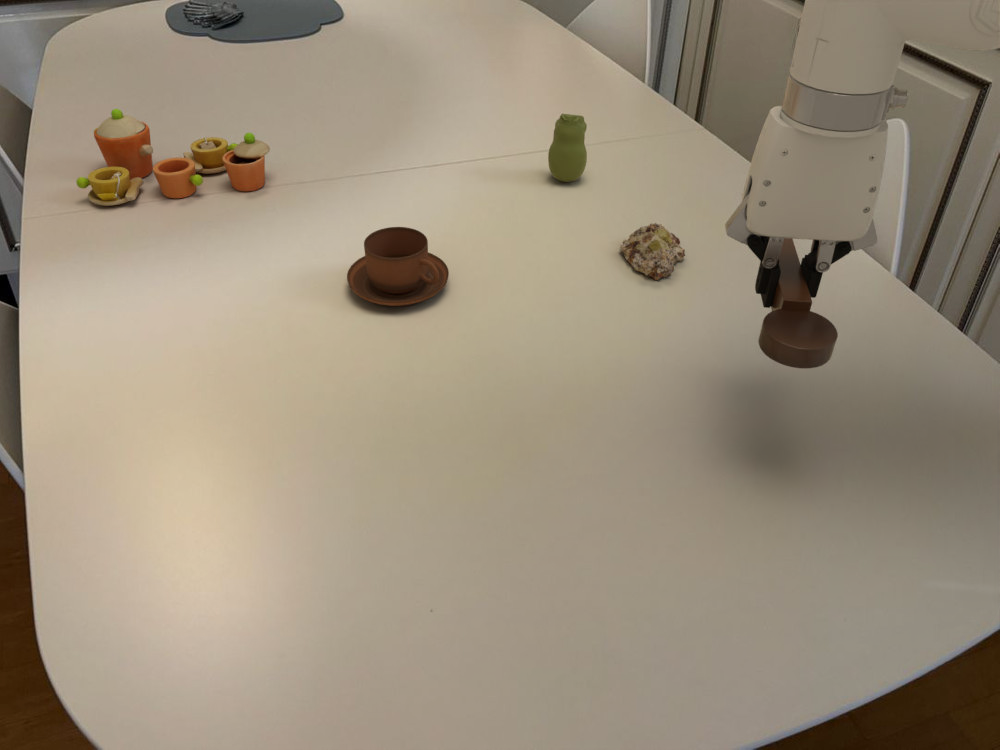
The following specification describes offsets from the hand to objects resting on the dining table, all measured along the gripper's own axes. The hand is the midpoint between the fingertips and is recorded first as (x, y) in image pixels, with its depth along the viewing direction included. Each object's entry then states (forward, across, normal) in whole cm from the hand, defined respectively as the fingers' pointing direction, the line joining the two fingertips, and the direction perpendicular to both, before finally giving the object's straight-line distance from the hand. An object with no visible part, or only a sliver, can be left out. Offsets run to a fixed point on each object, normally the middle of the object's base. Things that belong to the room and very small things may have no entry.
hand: (782, 299), depth 77 cm
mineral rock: (+13, +10, -28) cm, 33 cm away
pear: (+13, +22, -50) cm, 56 cm away
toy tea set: (+13, +77, -42) cm, 88 cm away
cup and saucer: (+13, +40, -17) cm, 45 cm away
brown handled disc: (0, 0, +2) cm, 2 cm away
